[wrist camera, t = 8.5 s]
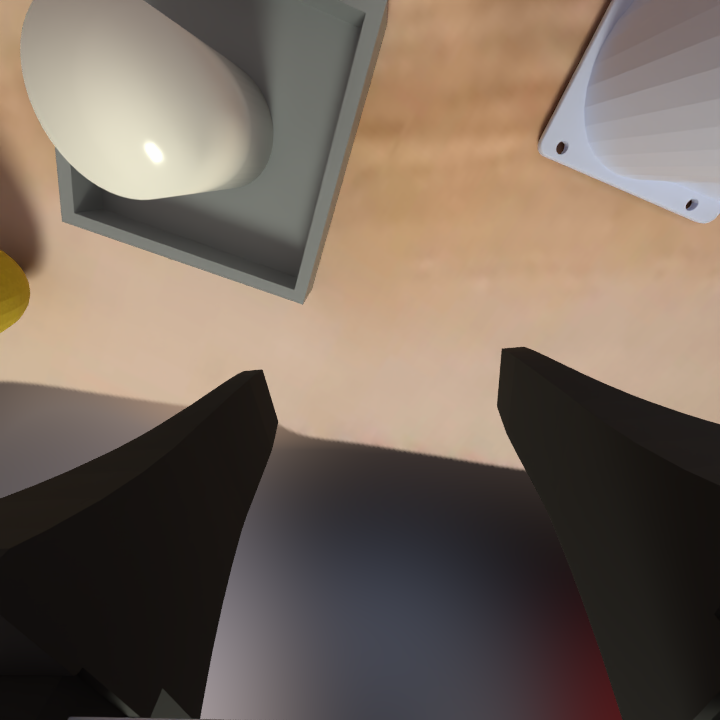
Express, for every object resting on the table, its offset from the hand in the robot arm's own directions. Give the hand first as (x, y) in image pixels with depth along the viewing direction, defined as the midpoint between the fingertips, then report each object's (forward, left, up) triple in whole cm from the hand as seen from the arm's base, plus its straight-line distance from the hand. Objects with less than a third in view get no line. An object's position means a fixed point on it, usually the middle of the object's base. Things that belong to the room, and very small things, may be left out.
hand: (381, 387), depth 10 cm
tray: (+10, -4, -10) cm, 15 cm away
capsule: (+10, -5, -10) cm, 15 cm away
